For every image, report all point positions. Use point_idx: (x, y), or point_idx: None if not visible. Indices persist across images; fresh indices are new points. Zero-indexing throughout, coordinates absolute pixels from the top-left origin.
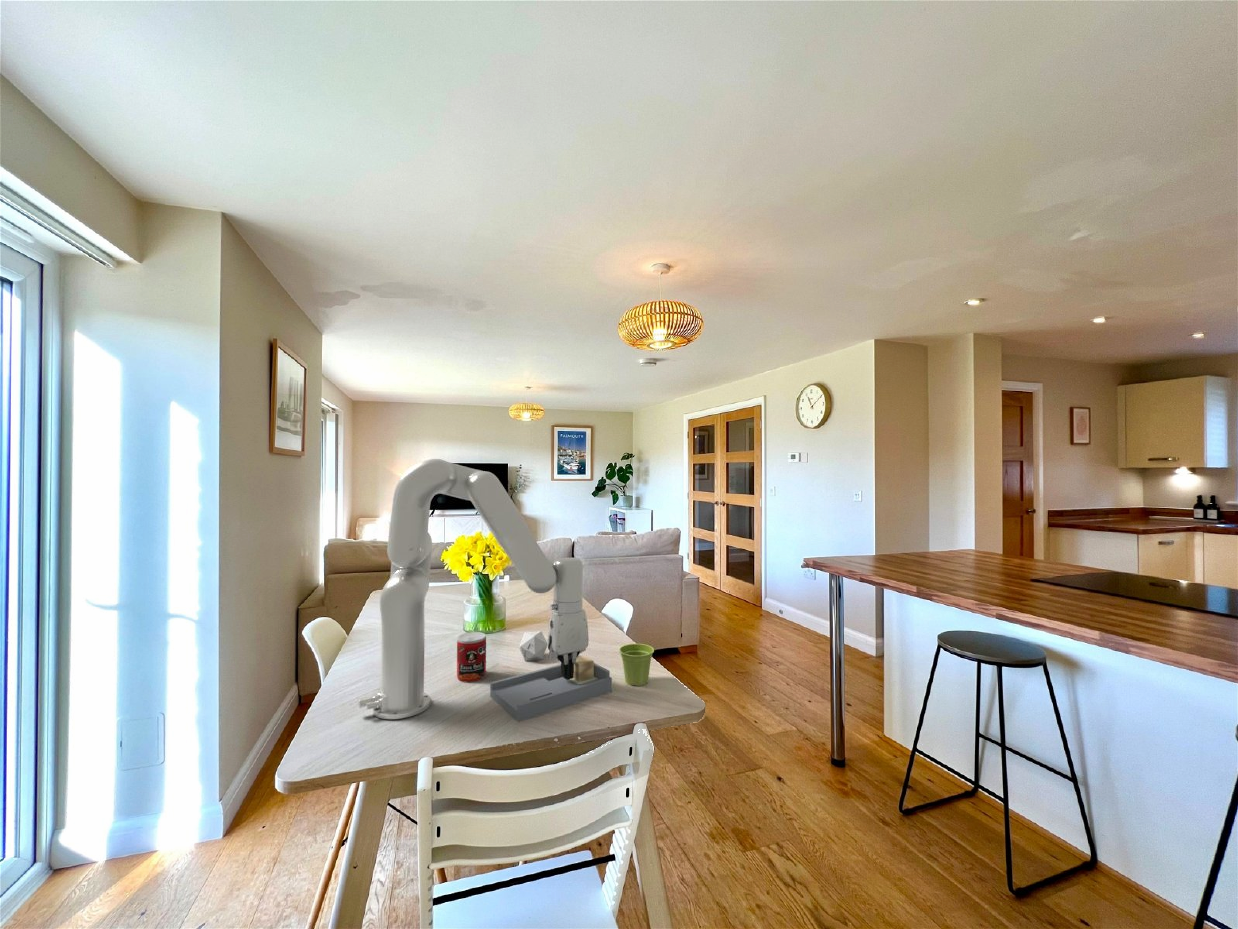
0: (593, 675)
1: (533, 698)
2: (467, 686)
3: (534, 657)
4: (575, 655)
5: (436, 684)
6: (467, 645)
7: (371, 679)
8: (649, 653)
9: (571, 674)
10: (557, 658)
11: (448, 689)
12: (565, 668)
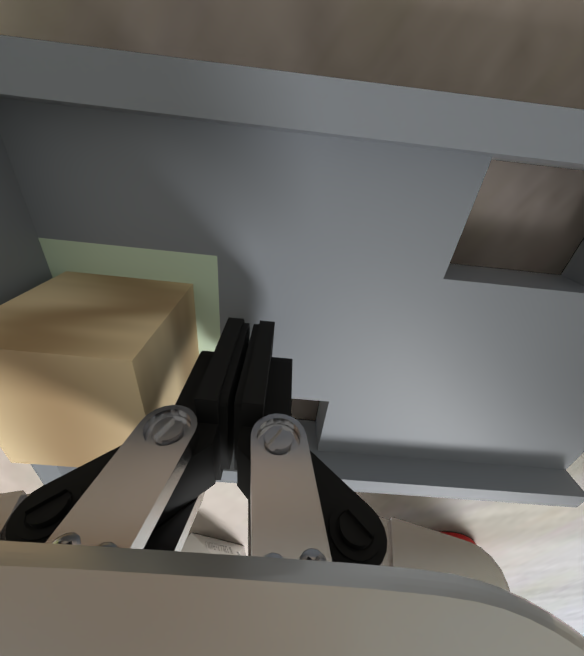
0: (54, 278)
1: (571, 292)
2: (493, 522)
3: (219, 551)
4: (119, 479)
5: (525, 558)
6: None
7: (567, 613)
8: None
9: (238, 336)
10: (377, 524)
11: (539, 533)
12: (277, 395)
